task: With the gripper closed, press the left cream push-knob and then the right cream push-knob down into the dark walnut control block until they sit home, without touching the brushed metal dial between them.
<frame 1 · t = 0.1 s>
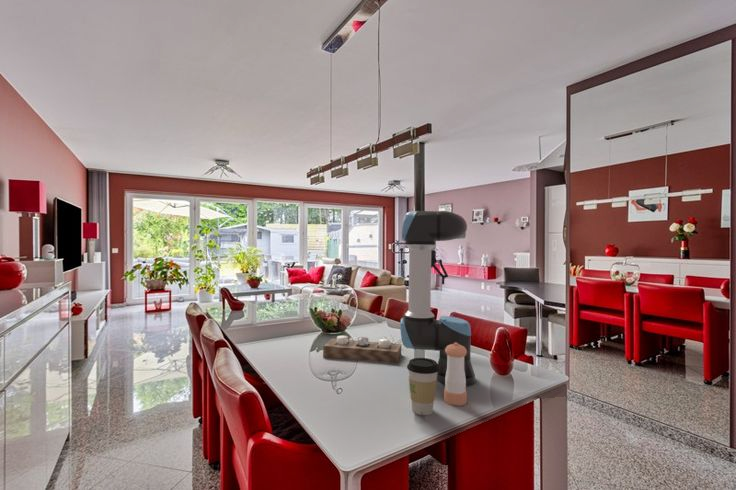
hand: (428, 290, 189), 28 cm above the table, tool pointing down, fingers open, 13 cm apart
salt shaker: (455, 401, 118), on the table
left knob: (342, 342, 168), point 5 cm above the table, slide at 0.0 cm
pot dial: (362, 343, 166), point 6 cm above the table, slide at 0.0 cm
coffee cup: (422, 411, 111), on the table
right knob: (384, 345, 163), point 5 cm above the table, slide at 0.0 cm
control block: (362, 355, 165), on the table
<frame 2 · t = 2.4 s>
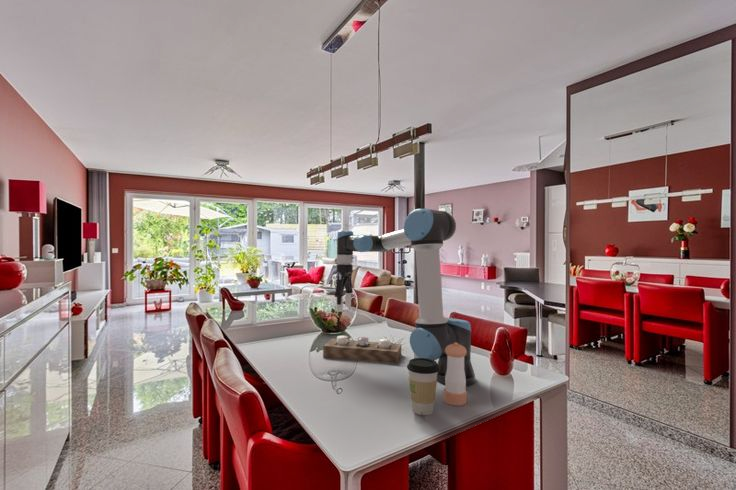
hand: (343, 309, 168), 21 cm above the table, tool pointing down, fingers open, 13 cm apart
nothing on the table moved.
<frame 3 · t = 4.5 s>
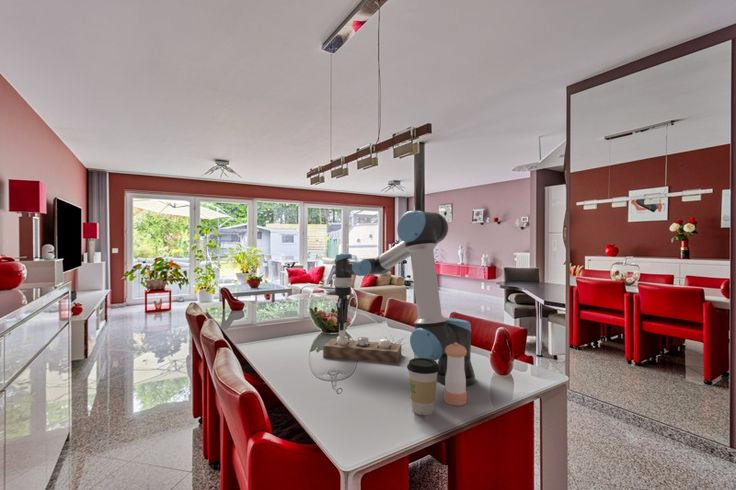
hand: (342, 336, 168), 8 cm above the table, tool pointing down, fingers closed
left knob: (342, 342, 168), point 5 cm above the table, slide at 0.2 cm, touching gripper
everything else where it was.
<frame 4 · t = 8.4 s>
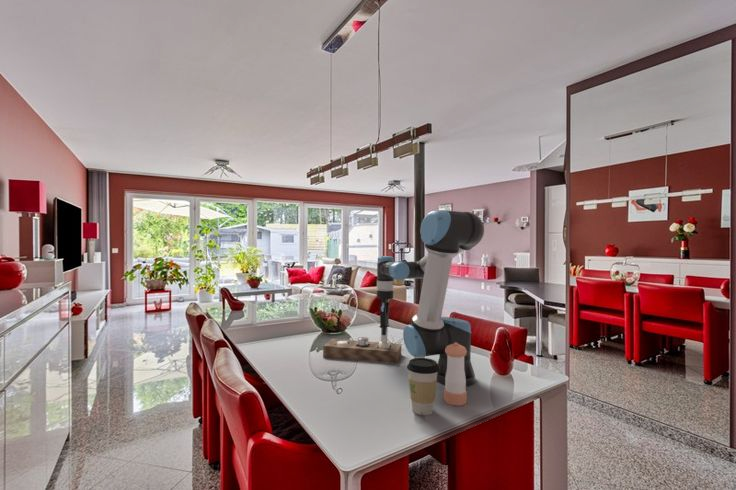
hand: (384, 341, 163), 7 cm above the table, tool pointing down, fingers closed
left knob: (342, 347, 168), point 3 cm above the table, slide at 2.5 cm
right knob: (384, 347, 163), point 5 cm above the table, slide at 1.0 cm, touching gripper
everything else where it was.
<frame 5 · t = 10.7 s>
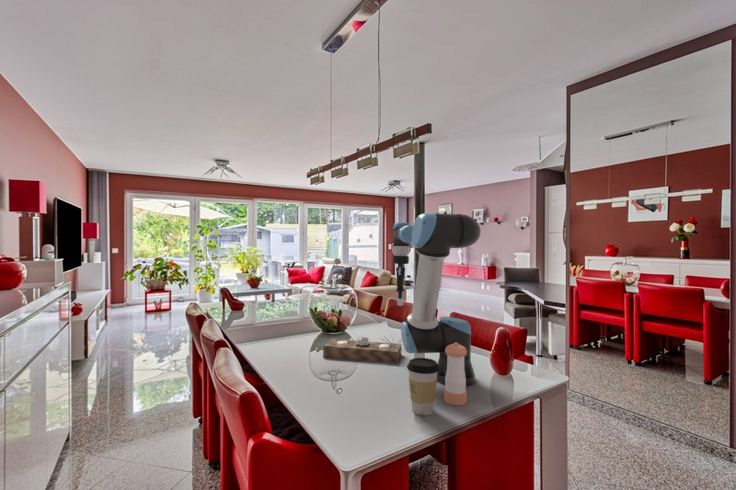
hand: (400, 305, 170), 23 cm above the table, tool pointing down, fingers closed
right knob: (384, 351, 163), point 3 cm above the table, slide at 2.6 cm
everything else where it was.
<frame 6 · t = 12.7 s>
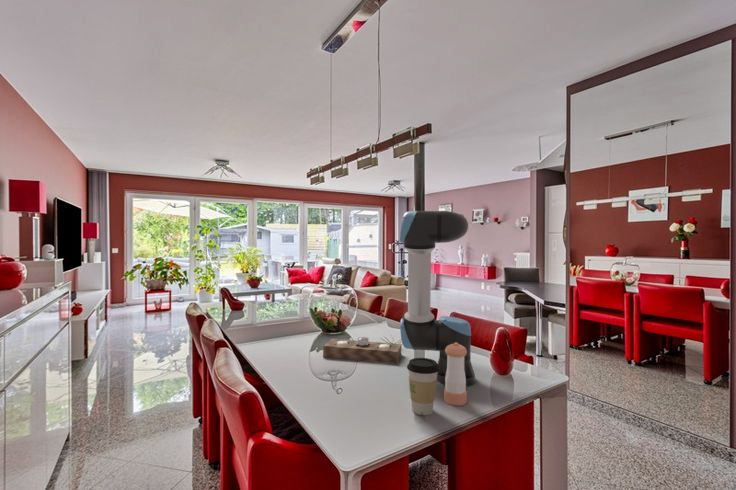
hand: (423, 289, 180), 29 cm above the table, tool pointing down, fingers closed
nothing on the table moved.
at the end: left knob slide at 2.5 cm; right knob slide at 2.6 cm; pot dial slide at 0.0 cm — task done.
